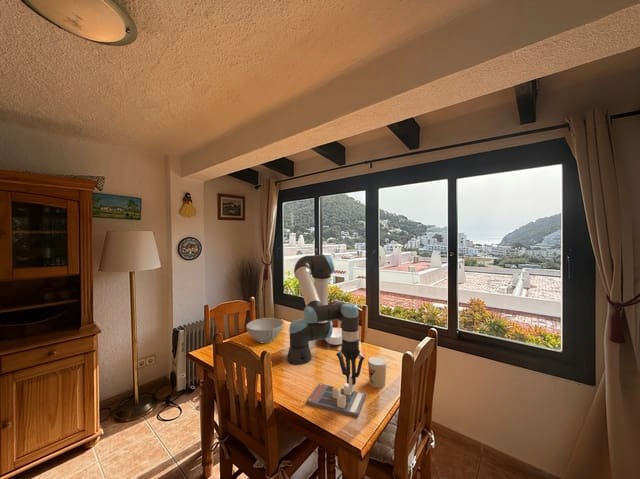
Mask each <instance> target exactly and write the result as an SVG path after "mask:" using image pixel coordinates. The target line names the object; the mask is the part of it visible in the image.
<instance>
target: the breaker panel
mask: <svg viewBox="0 0 640 479" xmlns="http://www.w3.org/2000/svg"><path fill="white" fill-rule="evenodd" d="M334 386H335V385H334ZM334 386H333V385H328V384H323V383H320V382H319V383H318V384H317V386H315V389H313V391H312V392H311V394H310V395H309V396H308V398H307V399H306V401H305V402H306V405H307V406H308V405H309V406H311V407H316V408H320V409H323V410H328V411H331V412H333V413H334V412H335V413H339V414H342V415H346V416H349V417H354V418H357V419H358V418H359V416H360V413H361V411H362V409H363V406H364V403H365V400H366V398H367V393H365V392H359V391H355V390H353V392H352V393H351V392H349V384H347V382H345V383H344V384H343V387H342V388H341V394H339V395H338V397H337V399H335V398H333V393H332V389H333V388H334Z"/></svg>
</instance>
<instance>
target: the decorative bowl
mask: <svg viewBox="0 0 640 479" xmlns="http://www.w3.org/2000/svg"><path fill="white" fill-rule="evenodd" d="M245 327H246V330H247V333H248V334H249V336H250V338H252V339H253V340H255V341H256V342H257V341H258V342H263V343H262V344H267V343H266V342H269V343H271V342H270V341H272V340H273V341H274V340H275V339H276V338H277V337H278V336H279V334H281V332H282V330H283V327H284V321H283V320H282V319H280V318H278V317H276V318H275V317H263V318H257V319H253V320H251V321H249V322H248V323H247V324H245ZM273 341H272V342H273ZM258 342H257V343H258Z"/></svg>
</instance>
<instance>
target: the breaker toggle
mask: <svg viewBox="0 0 640 479" xmlns="http://www.w3.org/2000/svg"><path fill="white" fill-rule="evenodd" d="M332 393H333V398H335V399H337V397H338V395H339V394H341V386H339V385H338V386H337V385H334V388H333V389H332Z"/></svg>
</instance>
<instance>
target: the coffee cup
mask: <svg viewBox="0 0 640 479" xmlns="http://www.w3.org/2000/svg"><path fill="white" fill-rule="evenodd" d="M367 364H368V366H367V369H368V375H369V377H368V379H369V385H370V386H371V387H372V388H375V389H383V388H384V387H386V380H387V379H386V378H387V373H386V372H387V361H386V359H384V357H380V356H372V357H369V359H368V360H367Z"/></svg>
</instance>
